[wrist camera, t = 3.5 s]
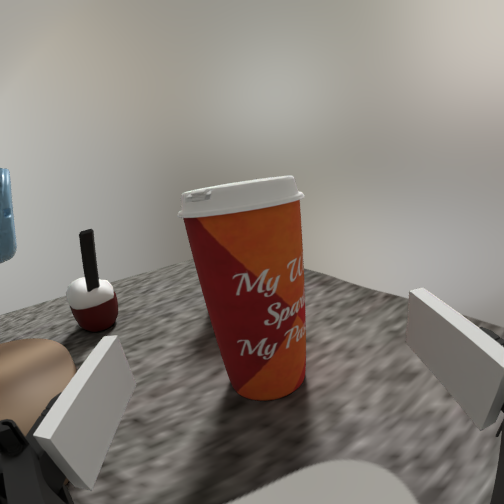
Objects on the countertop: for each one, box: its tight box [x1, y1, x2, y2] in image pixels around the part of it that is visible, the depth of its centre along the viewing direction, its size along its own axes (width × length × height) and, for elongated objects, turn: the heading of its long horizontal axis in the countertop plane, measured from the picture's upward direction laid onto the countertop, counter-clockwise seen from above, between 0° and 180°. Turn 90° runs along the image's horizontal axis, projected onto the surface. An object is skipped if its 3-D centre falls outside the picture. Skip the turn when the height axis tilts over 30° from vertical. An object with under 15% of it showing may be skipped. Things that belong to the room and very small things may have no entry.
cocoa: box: [66, 229, 118, 332], centre depth 32 cm, size 10×6×12 cm, turn 29°
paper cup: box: [178, 176, 306, 401], centre depth 20 cm, size 8×8×14 cm
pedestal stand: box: [0, 338, 77, 485], centre depth 13 cm, size 15×15×6 cm
